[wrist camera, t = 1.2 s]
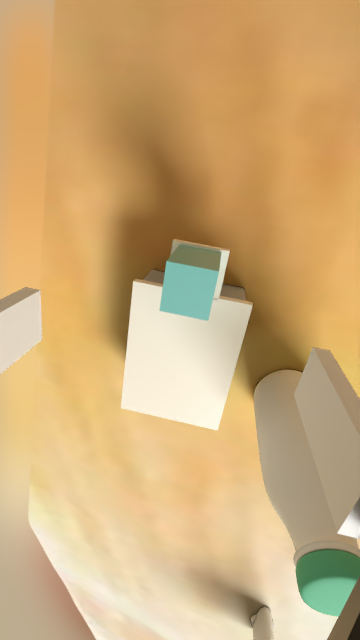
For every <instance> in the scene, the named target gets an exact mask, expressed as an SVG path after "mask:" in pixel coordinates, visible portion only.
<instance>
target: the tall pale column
mask: <svg viewBox="0 0 360 640" xmlns="http://www.w3.org/2000/svg"><path fill="white" fill-rule="evenodd" d="M251 625H252V627H253V640H274V637H273V628H274V626H273V620H272V619H271V611H270V609H269V608H268V607H266V606H264V607H261V608H260V609H259V611H258V612H257V614H256V615H253V616H252V617H251Z"/></svg>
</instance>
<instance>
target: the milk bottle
mask: <svg viewBox="0 0 360 640" xmlns="http://www.w3.org/2000/svg"><path fill="white" fill-rule="evenodd" d="M301 376H302V372H299V371H296V370H280V371H275V372H273V373H270V374H268V375H267V376H265V377H264V378H263V379H262V380H261V381H260V382H259V383H258V385H257V386H256V388H255V391H254V396H253V397H254V411H255V420H256V430H257V439H258V447H259V455H260V463H261V469H262V476H263V481H264V485H265V488H266V492H267V494H268V497H269V499H270V501H271V503H272V505H273V507H274V509H275V511H276V512H277V514H278V515H279V517H280V519H281V520H282V522H283V523H284V525H285V527H286V528H287V530H288V532H289V534H290V537H291V539H292V541H293V544H294V547H295V550H296V552H295V554H294V564H295V566H296V577H297V583H298V588H299V592H300V595H301V597H302V599H303V601H304V602H305V603H306V604H307V605H308V606H310V607H311V608H313V609H314V610H316V611H318V612H321V613H324V614H327V615H332V616H339V615H340V613H341V611H342V609H343V607H344V605H345V604H346V602H347V600H348V598H349V596H350V594H351V592H352V590H353V588H354V586H355V584H356V582H357V580H358V578H359V576H360V549H359V548H358V544H357V538H354V537H350V536H346V535H342V534H338V533H337V531H336V528H335V525H334V522H333V518H332V515H331V512H330V509H329V506H328V502H327V499H326V496H325V493H324V490H323V486H322V483H321V480H320V477H319V474H318V470H317V467H316V464H315V461H314V458H313V454H312V451H311V448H310V445H309V442H308V438H307V435H306V432H305V429H304V426H303V422H302V419H301V416H300V413H299V410H298V406H297V403H296V400H295V397H294V393H295V391H296V388H297V386H298V383H299V381H300V378H301Z"/></svg>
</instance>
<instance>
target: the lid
mask: <svg viewBox="0 0 360 640" xmlns="http://www.w3.org/2000/svg"><path fill="white" fill-rule="evenodd" d="M229 253H230V249H225V248H220V247H214V246H209V245H204V244H199V243H193V242H188V241H183V240H178V239H174V240H173V242H172V249H171V256H170V257H169V259H168V260H167V261H166V268H165V275H164V282H163V284H160V283H155V282H150V281H145V280H140V279H135V280H134V281H133V289H132V299H131V309H130V320H129V330H128V340H127V351H126V361H125V371H124V382H123V392H122V402H121V408H123V409H128V410H132V411H136V412H140V413H145V414H149V415H153V416H158V417H162V418H166V419H171V420H175V421H179V422H183V423H188V424H192V425H196V426H201V427H205V428H209V429H214V430H218V427H219V423H220V420H221V416H222V413H223V409H224V406H225V402H226V398H227V395H228V391H229V388H230V384H231V381H232V377H233V374H234V370H235V367H236V363H237V360H238V356H239V353H240V349H241V346H242V342H243V339H244V335H245V332H246V328H247V324H248V321H249V317H250V314H251V310H252V307H253V303H252V302H249V301H244V300H239V299H234V298H229V297H224V296H220V292H221V288H222V283H223V279H224V275H225V270H226V266H227V262H228V257H229Z"/></svg>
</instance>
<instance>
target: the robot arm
mask: <svg viewBox="0 0 360 640" xmlns="http://www.w3.org/2000/svg"><path fill="white" fill-rule="evenodd" d="M41 340H42V322H41V294H40V290H36V289H32V288H27V287H25V288H23V289H21V290H19V291H17V292H15V293H13V294H11V295H9V296H7V297H5V298H3V299H1V300H0V374H1V373H2V372H3V371H5V370H6V369H7V368H8V367H9V366H11V365H12V364H13V363H14V362H16V361H17V360H18V359H19V358H20V357H22V356H23V355H24V354H25V353H26V352H28V351H29V350H30V349H31V348H33V347H34V346H35V345H36V344H37V343H39V342H40V341H41ZM294 397H295V400H296V403H297V406H298V410H299V413H300V416H301V419H302V422H303V426H304V429H305V432H306V435H307V438H308V442H309V445H310V448H311V451H312V454H313V458H314V461H315V464H316V467H317V470H318V474H319V477H320V480H321V483H322V486H323V490H324V493H325V496H326V499H327V502H328V506H329V509H330V512H331V515H332V518H333V522H334V525H335V528H336V531H337V533H338V534H342V535H346V536H350V537H354V538H358V539H360V399H359V397H358V396H357V394H356V392H355V391H354V389H353V387H352V386H351V384H350V382H349V381H348V379H347V378H346V376H345V374H344V373H343V371H342V369H341V368H340V366H339V365H338V363H337V361H336V360H335V358H334V356H333V355H332V353H331V352H330V350H325V349H320V348H315V347H313V348H312V350H311V353H310V356H309V358H308V361H307V363H306V366H305V368H304V371H303V373H302V376H301V378H300V381H299V383H298V386H297V388H296V391H295V393H294ZM327 640H360V576H359V578H358V580H357V582H356V584H355V586H354V588H353V590H352V592H351V594H350V596H349V598H348V600H347V602H346V604H345V605H344V607H343V609H342V611H341V613H340V615H339V617H338V619H337V621H336V623H335V625H334V627H333V629H332V631H331V633H330V635H329V637H328V639H327Z"/></svg>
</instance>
